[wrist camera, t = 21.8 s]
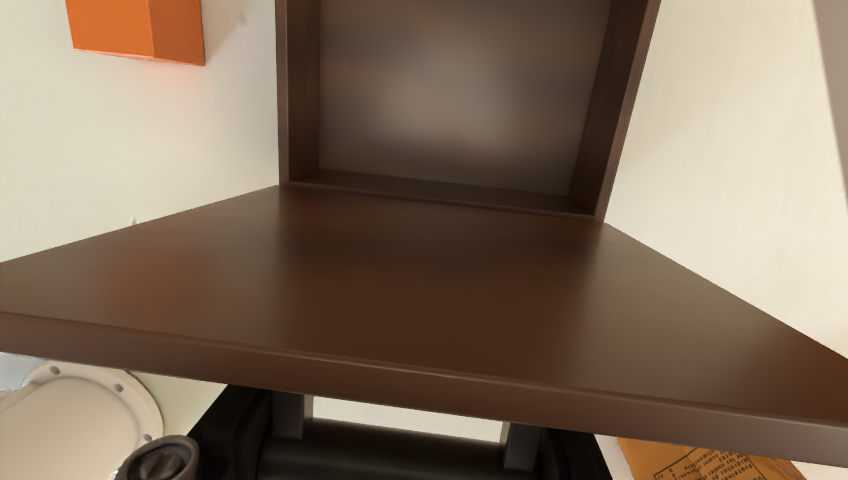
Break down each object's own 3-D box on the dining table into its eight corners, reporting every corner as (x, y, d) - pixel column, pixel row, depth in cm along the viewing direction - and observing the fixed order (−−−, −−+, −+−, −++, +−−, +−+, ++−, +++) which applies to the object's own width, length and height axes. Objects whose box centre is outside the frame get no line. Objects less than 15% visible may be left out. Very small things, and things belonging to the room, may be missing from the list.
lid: (-130, 297, 6) (-67, 512, 8) (1008, 446, 6) (881, 656, 7) (275, 184, 21) (275, 264, 23) (607, 222, 21) (588, 302, 22)
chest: (314, -81, 22) (271, -139, 17) (632, -53, 22) (689, -105, 16) (313, 174, 27) (278, 190, 22) (573, 203, 27) (602, 227, 21)
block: (127, -22, 24) (55, -51, 20) (199, -16, 24) (142, -42, 20) (137, 59, 26) (72, 49, 21) (205, 66, 25) (154, 58, 21)
